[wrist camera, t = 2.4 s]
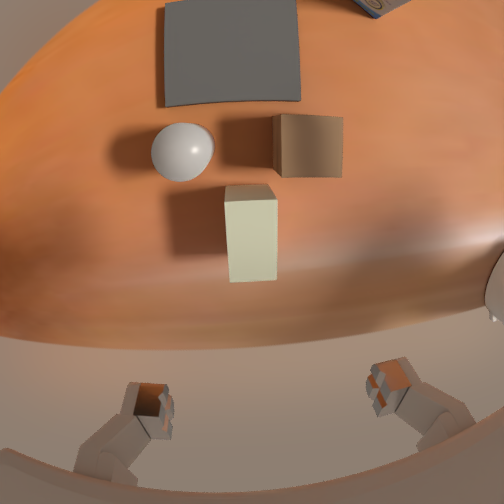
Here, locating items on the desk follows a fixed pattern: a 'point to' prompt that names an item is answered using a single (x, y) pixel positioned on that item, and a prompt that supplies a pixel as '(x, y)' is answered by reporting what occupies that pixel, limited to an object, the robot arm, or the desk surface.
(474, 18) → the desk surface
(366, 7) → the medicine box
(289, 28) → the charcoal pad
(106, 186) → the desk surface
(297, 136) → the walnut cube
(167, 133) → the grey plastic egg
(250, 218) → the sage brick
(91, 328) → the desk surface
